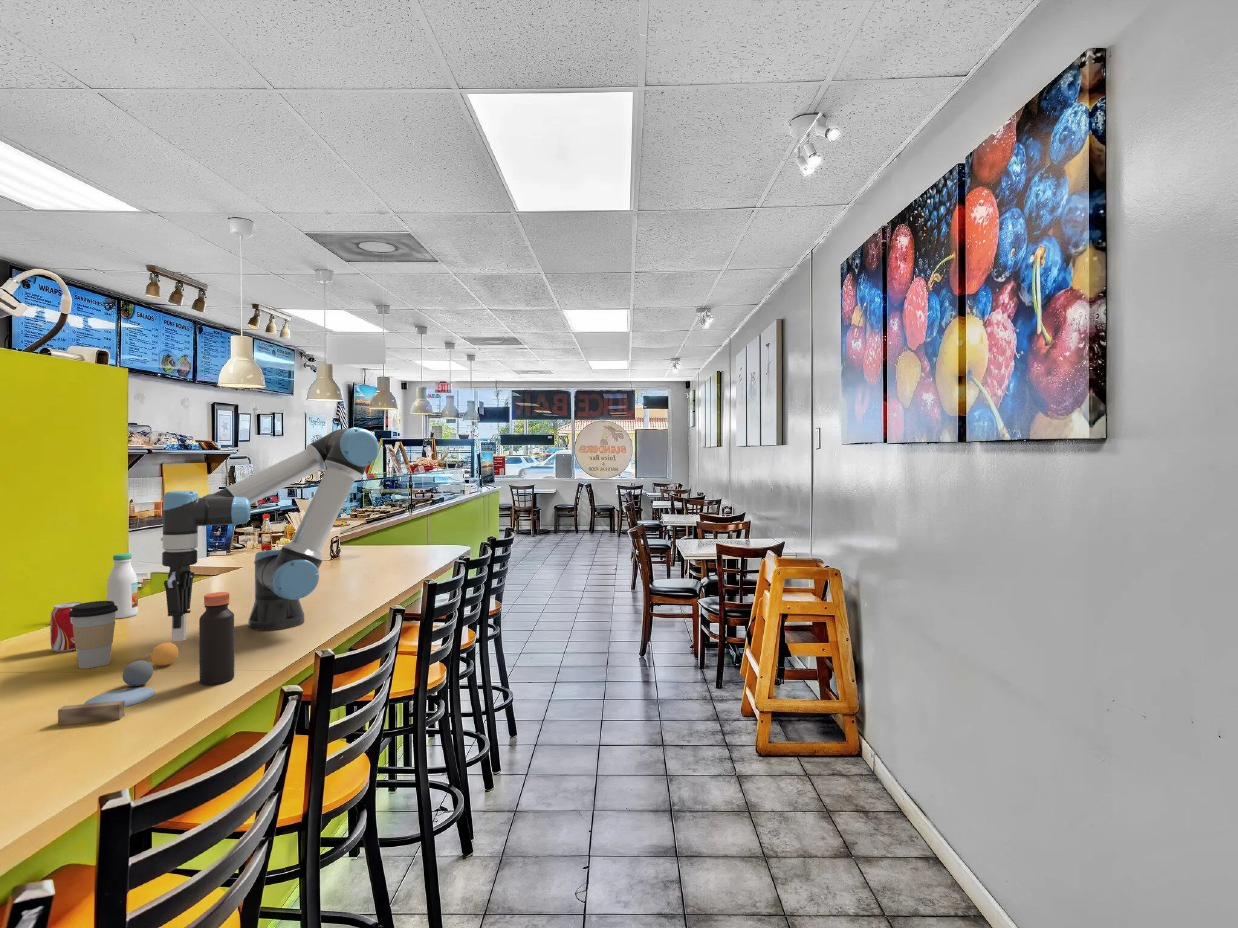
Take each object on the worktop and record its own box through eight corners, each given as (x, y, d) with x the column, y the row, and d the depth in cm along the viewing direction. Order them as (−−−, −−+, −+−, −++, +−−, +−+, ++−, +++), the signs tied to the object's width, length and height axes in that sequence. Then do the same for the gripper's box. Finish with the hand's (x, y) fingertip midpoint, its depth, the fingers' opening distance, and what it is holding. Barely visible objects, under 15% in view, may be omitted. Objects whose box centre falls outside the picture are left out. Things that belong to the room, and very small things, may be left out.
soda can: (64, 654, 160) (64, 608, 160) (43, 652, 162) (42, 606, 162) (92, 646, 167) (92, 602, 167) (72, 644, 169) (71, 600, 169)
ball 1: (157, 679, 143) (157, 656, 143) (146, 688, 137) (146, 664, 137) (129, 682, 141) (129, 658, 141) (117, 691, 136) (117, 666, 136)
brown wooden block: (124, 715, 123) (124, 700, 123) (119, 719, 121) (119, 704, 121) (64, 720, 121) (64, 705, 120) (58, 725, 119) (57, 709, 119)
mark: (165, 685, 139) (165, 685, 139) (139, 706, 127) (139, 705, 127) (101, 691, 136) (101, 690, 136) (69, 713, 124) (69, 712, 124)
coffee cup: (127, 660, 156) (127, 601, 156) (84, 673, 147) (84, 610, 147) (102, 656, 159) (102, 598, 159) (59, 668, 150) (58, 607, 150)
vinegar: (210, 675, 146) (210, 591, 146) (240, 674, 146) (240, 590, 146) (192, 685, 139) (192, 597, 139) (223, 685, 139) (223, 597, 139)
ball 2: (182, 660, 156) (182, 638, 156) (173, 667, 151) (173, 645, 151) (157, 662, 155) (156, 640, 154) (146, 669, 149) (146, 647, 149)
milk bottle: (124, 619, 194) (124, 556, 194) (100, 619, 195) (100, 555, 194) (143, 613, 202) (143, 552, 202) (120, 612, 202) (120, 552, 202)
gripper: (174, 546, 167) (172, 633, 167) (152, 553, 154) (150, 647, 154) (205, 546, 169) (204, 632, 169) (186, 553, 156) (185, 645, 156)
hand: (178, 639), depth 161 cm, fingers closed
